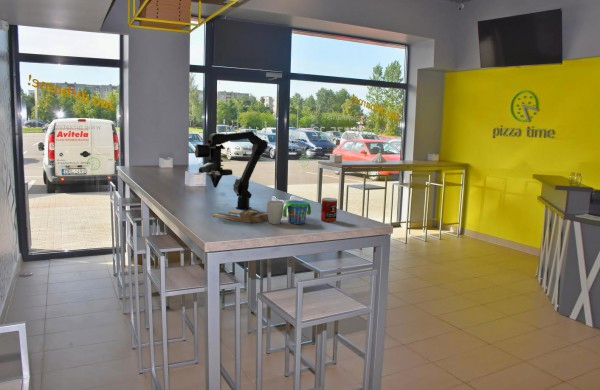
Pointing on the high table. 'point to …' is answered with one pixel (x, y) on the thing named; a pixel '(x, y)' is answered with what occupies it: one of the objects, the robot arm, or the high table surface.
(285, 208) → the snack cup
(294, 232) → the high table surface
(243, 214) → the crate
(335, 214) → the canned food
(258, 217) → the light brown long piece
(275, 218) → the cup
